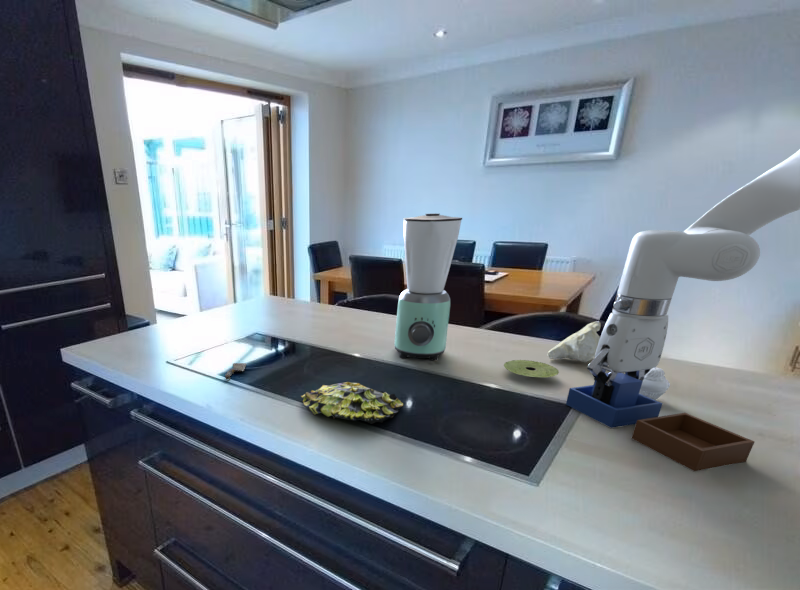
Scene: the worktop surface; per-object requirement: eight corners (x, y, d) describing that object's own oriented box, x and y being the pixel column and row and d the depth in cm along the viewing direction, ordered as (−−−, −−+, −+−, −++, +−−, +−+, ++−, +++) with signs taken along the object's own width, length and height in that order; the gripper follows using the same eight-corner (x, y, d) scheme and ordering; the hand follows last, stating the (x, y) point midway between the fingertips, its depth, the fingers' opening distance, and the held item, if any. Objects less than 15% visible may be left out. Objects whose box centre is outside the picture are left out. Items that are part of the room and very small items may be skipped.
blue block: (611, 395, 86) (618, 371, 84) (635, 405, 81) (643, 381, 79) (589, 398, 85) (596, 374, 83) (612, 409, 80) (620, 384, 78)
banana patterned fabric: (282, 413, 88) (283, 381, 88) (328, 406, 101) (329, 377, 100) (371, 427, 76) (372, 389, 75) (411, 416, 88) (412, 384, 88)
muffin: (630, 402, 88) (640, 369, 85) (622, 390, 93) (632, 359, 90) (668, 407, 85) (680, 373, 83) (658, 395, 91) (669, 363, 88)
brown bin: (678, 430, 77) (684, 412, 76) (746, 461, 68) (755, 441, 66) (631, 438, 75) (637, 419, 74) (694, 471, 66) (702, 451, 64)
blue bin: (607, 398, 90) (612, 382, 88) (656, 421, 80) (662, 403, 79) (565, 404, 88) (569, 387, 86) (611, 428, 78) (616, 410, 77)
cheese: (570, 378, 105) (633, 340, 100) (550, 353, 106) (612, 314, 101) (554, 374, 119) (609, 341, 115) (537, 353, 120) (590, 319, 116)
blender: (446, 366, 108) (466, 214, 95) (391, 362, 112) (402, 215, 98) (443, 343, 125) (459, 211, 112) (395, 340, 129) (405, 212, 115)
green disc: (539, 389, 95) (541, 380, 94) (492, 373, 103) (493, 365, 103) (567, 377, 100) (569, 369, 99) (520, 363, 109) (521, 356, 108)
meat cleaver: (253, 365, 112) (236, 364, 114) (253, 361, 112) (235, 359, 114) (231, 380, 102) (212, 379, 104) (231, 376, 102) (212, 374, 103)
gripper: (620, 314, 71) (591, 415, 78) (702, 307, 74) (668, 403, 81) (581, 304, 78) (558, 398, 85) (658, 298, 81) (630, 388, 88)
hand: (612, 399), depth 83 cm, fingers closed on blue block, 5 cm apart
